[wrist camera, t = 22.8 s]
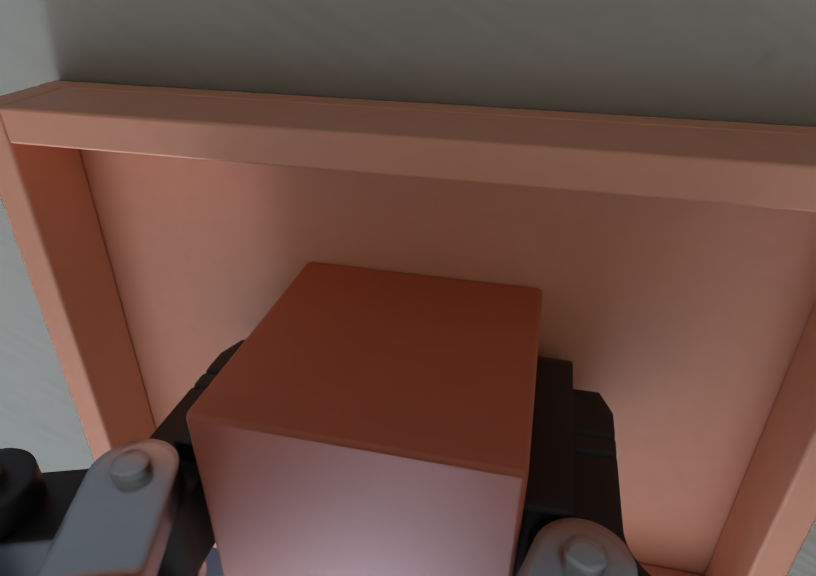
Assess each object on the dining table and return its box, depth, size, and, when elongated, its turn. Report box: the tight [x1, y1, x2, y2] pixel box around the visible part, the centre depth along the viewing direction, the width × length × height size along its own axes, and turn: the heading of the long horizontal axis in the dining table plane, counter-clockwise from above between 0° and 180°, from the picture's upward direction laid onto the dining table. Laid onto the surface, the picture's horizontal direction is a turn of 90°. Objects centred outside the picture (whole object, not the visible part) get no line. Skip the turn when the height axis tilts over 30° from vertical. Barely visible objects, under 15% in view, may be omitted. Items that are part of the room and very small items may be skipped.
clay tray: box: [0, 81, 816, 576], centre depth 12 cm, size 14×10×2 cm
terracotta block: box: [186, 262, 543, 576], centre depth 10 cm, size 4×4×4 cm
